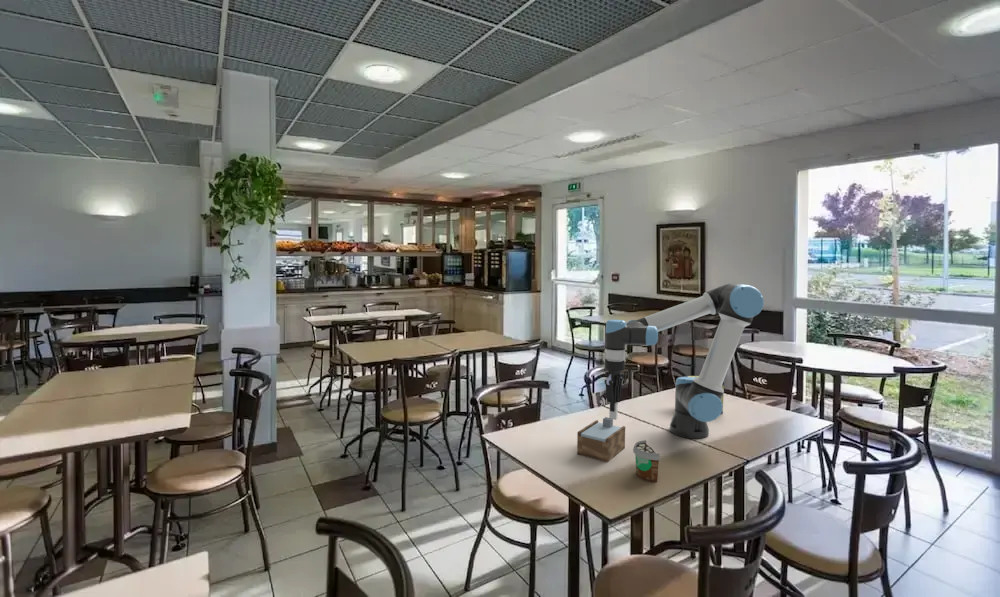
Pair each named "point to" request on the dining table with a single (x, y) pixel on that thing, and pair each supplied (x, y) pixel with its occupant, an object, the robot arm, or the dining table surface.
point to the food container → (646, 462)
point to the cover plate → (601, 430)
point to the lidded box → (601, 445)
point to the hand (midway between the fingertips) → (613, 418)
